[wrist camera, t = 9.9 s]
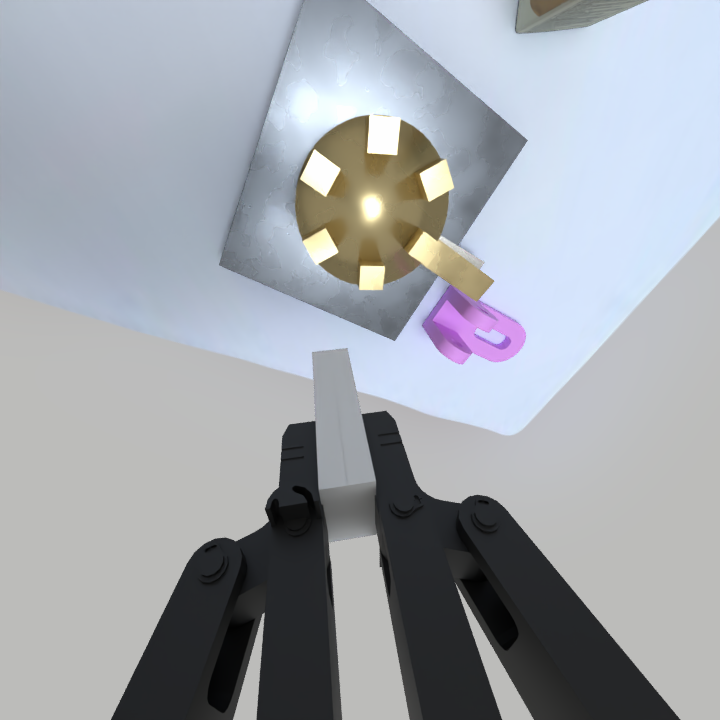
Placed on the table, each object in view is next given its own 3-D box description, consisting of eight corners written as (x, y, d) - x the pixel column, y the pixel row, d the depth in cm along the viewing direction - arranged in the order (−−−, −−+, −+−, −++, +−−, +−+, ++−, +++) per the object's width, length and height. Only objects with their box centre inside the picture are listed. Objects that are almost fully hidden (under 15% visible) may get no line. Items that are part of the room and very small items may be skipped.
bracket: (421, 324, 38) (441, 356, 32) (450, 284, 36) (477, 310, 30) (498, 361, 43) (528, 395, 37) (528, 328, 40) (564, 358, 35)
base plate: (224, 257, 31) (218, 265, 29) (316, -24, 22) (317, -42, 20) (414, 340, 39) (420, 352, 37) (537, 162, 30) (555, 163, 28)
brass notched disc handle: (271, 229, 27) (265, 242, 24) (345, 76, 23) (352, 62, 19) (434, 326, 35) (449, 348, 31) (516, 227, 30) (545, 239, 26)
